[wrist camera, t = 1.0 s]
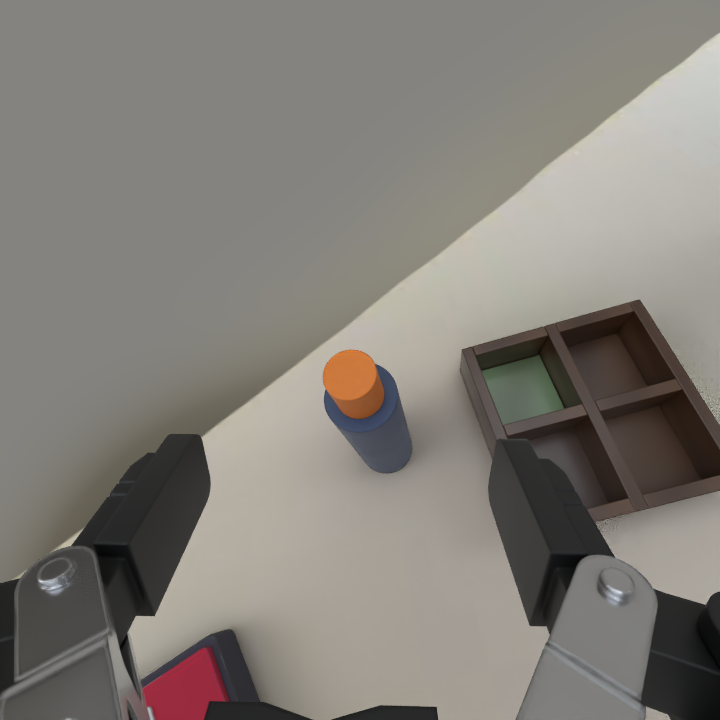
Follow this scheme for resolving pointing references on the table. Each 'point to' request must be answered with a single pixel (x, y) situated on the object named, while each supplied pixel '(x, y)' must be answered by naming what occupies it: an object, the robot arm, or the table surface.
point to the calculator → (199, 680)
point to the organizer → (600, 408)
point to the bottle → (367, 410)
